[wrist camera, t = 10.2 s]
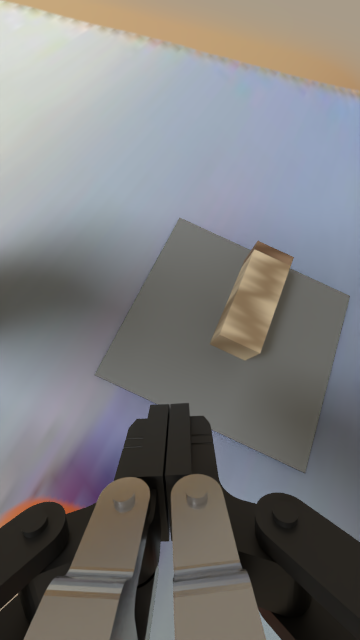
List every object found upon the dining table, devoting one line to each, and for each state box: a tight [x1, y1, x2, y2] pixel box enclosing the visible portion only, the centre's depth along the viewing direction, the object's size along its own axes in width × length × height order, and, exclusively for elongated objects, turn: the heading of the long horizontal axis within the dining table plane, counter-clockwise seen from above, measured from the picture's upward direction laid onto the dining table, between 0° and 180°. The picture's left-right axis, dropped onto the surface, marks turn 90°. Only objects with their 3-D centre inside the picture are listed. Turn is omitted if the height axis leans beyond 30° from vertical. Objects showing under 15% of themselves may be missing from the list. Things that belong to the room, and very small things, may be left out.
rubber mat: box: [95, 218, 350, 473], centre depth 34 cm, size 24×22×1 cm
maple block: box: [210, 241, 294, 360], centre depth 32 cm, size 4×4×12 cm
